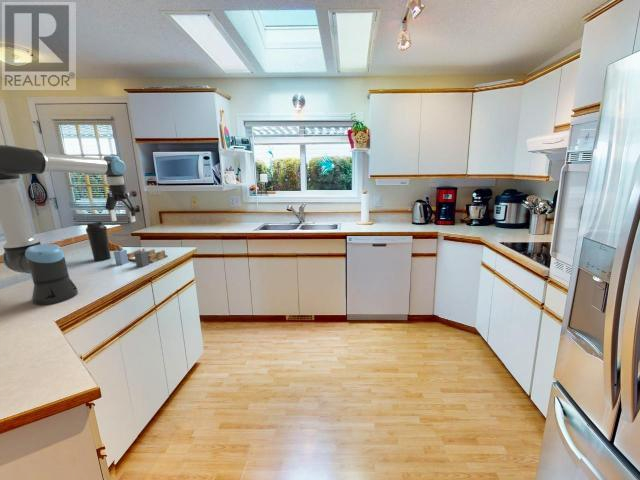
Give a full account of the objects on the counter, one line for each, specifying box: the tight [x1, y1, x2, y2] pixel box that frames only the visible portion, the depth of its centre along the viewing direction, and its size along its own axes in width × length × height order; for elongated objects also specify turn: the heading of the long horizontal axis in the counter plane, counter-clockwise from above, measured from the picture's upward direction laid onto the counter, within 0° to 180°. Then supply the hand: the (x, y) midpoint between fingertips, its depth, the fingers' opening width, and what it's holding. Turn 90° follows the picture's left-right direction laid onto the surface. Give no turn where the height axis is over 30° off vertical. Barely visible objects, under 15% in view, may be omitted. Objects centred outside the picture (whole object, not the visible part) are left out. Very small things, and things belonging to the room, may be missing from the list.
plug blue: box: [113, 246, 130, 266], centre depth 175 cm, size 4×4×10 cm
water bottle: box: [85, 221, 112, 262], centre depth 182 cm, size 10×10×23 cm
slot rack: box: [127, 248, 169, 264], centre depth 184 cm, size 12×20×4 cm, turn 75°
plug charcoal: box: [134, 248, 150, 268], centre depth 171 cm, size 4×4×10 cm
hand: (123, 221), depth 173 cm, fingers open, 13 cm apart
